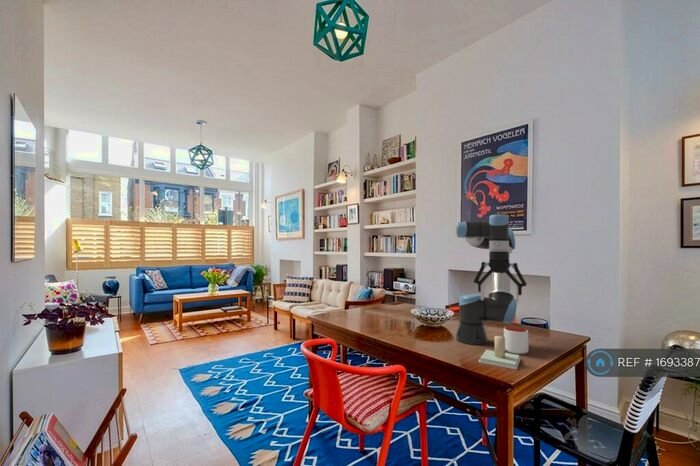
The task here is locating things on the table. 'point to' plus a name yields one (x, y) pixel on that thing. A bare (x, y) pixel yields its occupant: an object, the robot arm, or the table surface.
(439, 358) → the table surface
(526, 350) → the cup
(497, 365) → the mat
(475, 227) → the robot arm
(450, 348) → the table surface
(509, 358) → the lid
